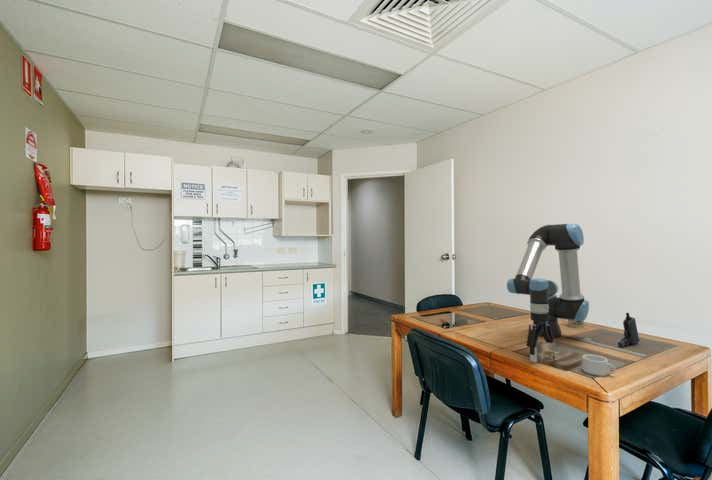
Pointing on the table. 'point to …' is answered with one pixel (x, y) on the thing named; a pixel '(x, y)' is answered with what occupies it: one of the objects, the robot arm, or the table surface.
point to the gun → (629, 332)
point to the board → (565, 360)
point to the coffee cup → (576, 324)
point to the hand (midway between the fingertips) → (540, 358)
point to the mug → (596, 365)
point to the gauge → (544, 352)
